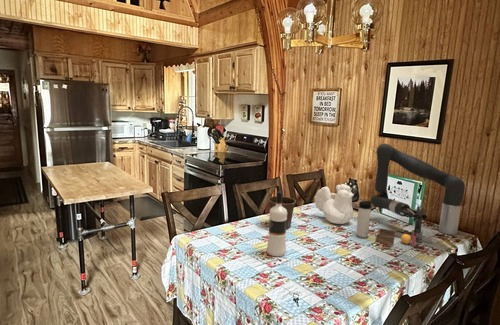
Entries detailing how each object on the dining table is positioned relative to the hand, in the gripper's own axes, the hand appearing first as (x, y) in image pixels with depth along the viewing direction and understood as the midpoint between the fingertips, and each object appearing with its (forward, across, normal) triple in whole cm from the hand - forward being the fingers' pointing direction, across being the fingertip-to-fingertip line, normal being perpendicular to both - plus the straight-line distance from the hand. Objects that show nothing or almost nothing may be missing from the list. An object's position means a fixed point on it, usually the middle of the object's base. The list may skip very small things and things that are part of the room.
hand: (423, 217), depth 170 cm
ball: (0, -10, +11) cm, 15 cm away
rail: (-6, -3, +14) cm, 15 cm away
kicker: (0, -3, +13) cm, 14 cm away
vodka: (-7, -82, +14) cm, 84 cm away
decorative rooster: (-41, -28, +14) cm, 52 cm away
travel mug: (-14, -27, +14) cm, 33 cm away
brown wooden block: (-7, -17, +14) cm, 23 cm away
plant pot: (-40, -65, +14) cm, 77 cm away
